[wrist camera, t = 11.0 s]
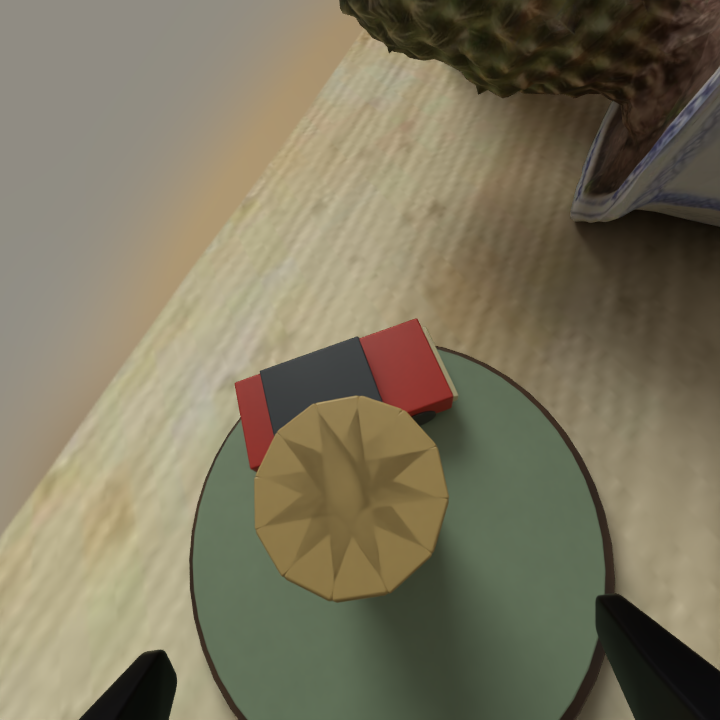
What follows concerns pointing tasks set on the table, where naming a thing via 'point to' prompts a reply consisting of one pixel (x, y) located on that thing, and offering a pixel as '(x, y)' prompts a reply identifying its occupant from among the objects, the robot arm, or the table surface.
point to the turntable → (396, 542)
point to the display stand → (599, 652)
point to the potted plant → (591, 84)
